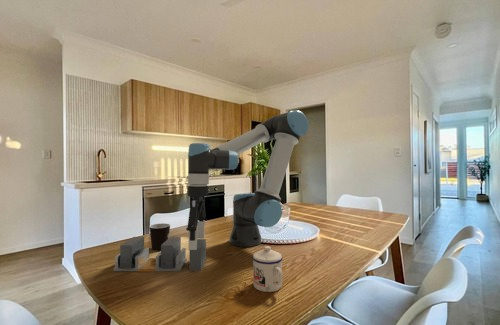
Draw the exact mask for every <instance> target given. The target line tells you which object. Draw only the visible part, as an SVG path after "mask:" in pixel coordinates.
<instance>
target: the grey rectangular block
mask: <svg viewBox="0 0 500 325" xmlns="http://www.w3.org/2000/svg"><path fill="white" fill-rule="evenodd" d="M188 253H189V257H188V258H189V259H188V260H189V263H188V264H189V266H188V268H189V270H188V271H189V272H191V271H198V272H200V271H202V269H203V267H204V265H205V262H206V260H207V239H206V238H197V250H188Z"/></svg>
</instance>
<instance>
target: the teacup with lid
mask: <svg viewBox="0 0 500 325" xmlns="http://www.w3.org/2000/svg"><path fill="white" fill-rule="evenodd" d="M282 262H283V256H282V254H281V253H280V252H278V251H275V250H273V249H272V248H271V246H268V245H267V246H266V245H265V246H264V247H263V249H261V250H259V251H255V252H254V253H253V255H252V263H253V264H252V265H253V266H252V267H253V268H252V270H253V271H252V272H253V274H252V276H253V278H252V280H253V281H252V284H253V287H254V288H255V289H256V290H258V291H260V292H265V293H272V292H276V291H277V292H278V291H279V290H280V289H281V288H282V284H283V281H284V274H283V271H282V270H283V268H282V267H283V264H282Z"/></svg>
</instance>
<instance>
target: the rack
mask: <svg viewBox="0 0 500 325" xmlns="http://www.w3.org/2000/svg"><path fill="white" fill-rule="evenodd" d="M181 240H182V238H181V236H169V239H167V240H166V241H165V242H164V243H163V244H162V245H161V251H159V253H158V254H156V256H155V258H150V250H149V247H145V236H133V237H131V238H129V239H128V240H127V241H125V242H123V243H121V244H120V245H119V253H118V254H117V255H115V256H114V267H113V272H139V273H140V272H143V273H144V272H146V273H147V272H148V273H149V272H152V273H153V272H154V273H155V272H181V271H182V269H183V268H184V266H185V265H186V263H187V261H188V259H187V257H186V249H187V248H186V247H182V246H181V245H182V242H181ZM181 247H182V248H181Z"/></svg>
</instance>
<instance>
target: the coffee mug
mask: <svg viewBox="0 0 500 325" xmlns="http://www.w3.org/2000/svg"><path fill="white" fill-rule="evenodd" d="M170 230H171V223H165V222H164V223H154V224H150V225H149V235H150V244H151V245H150V246H151V250H152V251H154V252H161V245H162V244H163V243H164V242H165V241H166V240H167V239H169V238H170V232H171V231H170Z"/></svg>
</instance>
